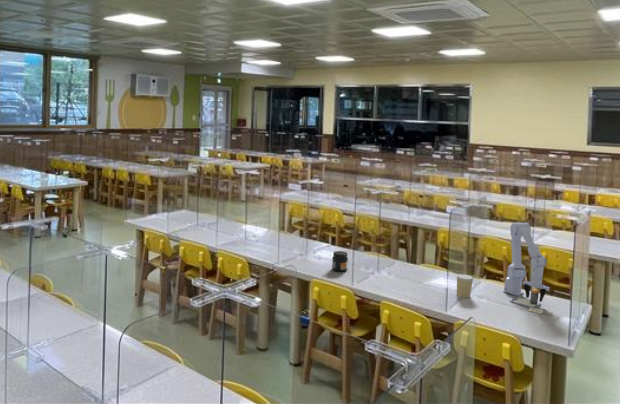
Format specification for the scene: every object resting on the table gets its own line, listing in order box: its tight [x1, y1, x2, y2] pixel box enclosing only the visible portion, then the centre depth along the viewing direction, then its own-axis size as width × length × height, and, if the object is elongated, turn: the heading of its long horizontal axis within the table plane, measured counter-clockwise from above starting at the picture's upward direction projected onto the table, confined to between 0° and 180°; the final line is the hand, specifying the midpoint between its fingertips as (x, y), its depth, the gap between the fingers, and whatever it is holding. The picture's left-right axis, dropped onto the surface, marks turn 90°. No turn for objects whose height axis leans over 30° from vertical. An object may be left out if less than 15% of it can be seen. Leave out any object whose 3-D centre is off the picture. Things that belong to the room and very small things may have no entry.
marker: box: [529, 288, 540, 305], centre depth 304 cm, size 4×4×8 cm
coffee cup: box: [456, 273, 474, 299], centre depth 314 cm, size 9×9×12 cm
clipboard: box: [509, 296, 542, 309], centre depth 306 cm, size 14×10×1 cm
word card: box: [527, 308, 544, 314], centre depth 295 cm, size 7×5×1 cm
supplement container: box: [331, 250, 349, 273], centre depth 354 cm, size 10×10×12 cm
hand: (534, 299), depth 304 cm, fingers open, 7 cm apart
